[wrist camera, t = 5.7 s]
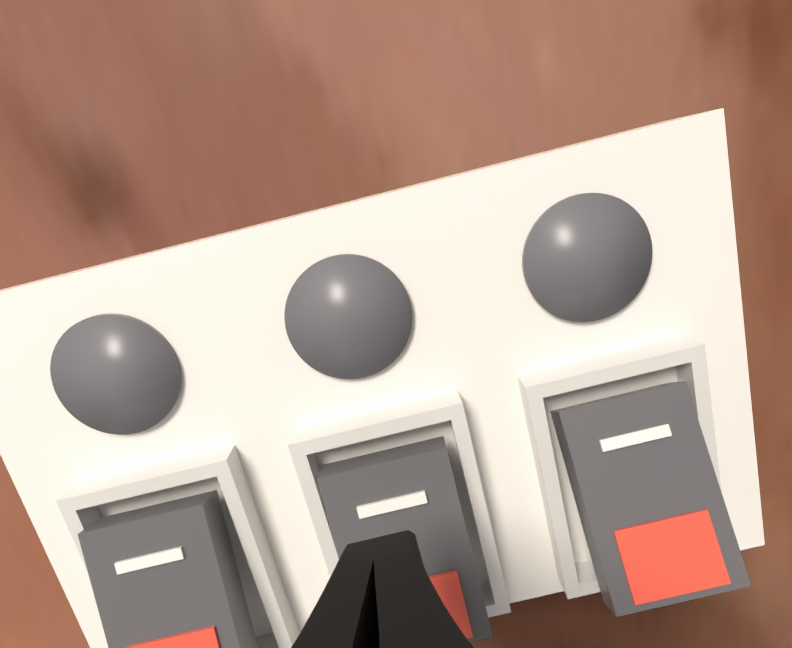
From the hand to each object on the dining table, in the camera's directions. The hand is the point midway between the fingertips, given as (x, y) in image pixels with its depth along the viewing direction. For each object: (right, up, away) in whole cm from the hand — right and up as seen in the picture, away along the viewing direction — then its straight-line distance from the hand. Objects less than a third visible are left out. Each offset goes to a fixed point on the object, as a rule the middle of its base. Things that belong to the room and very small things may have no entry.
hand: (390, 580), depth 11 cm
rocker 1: (-6, -3, +4) cm, 8 cm away
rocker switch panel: (0, +3, +8) cm, 8 cm away
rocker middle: (0, -1, +4) cm, 4 cm away
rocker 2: (+7, +1, +4) cm, 8 cm away
